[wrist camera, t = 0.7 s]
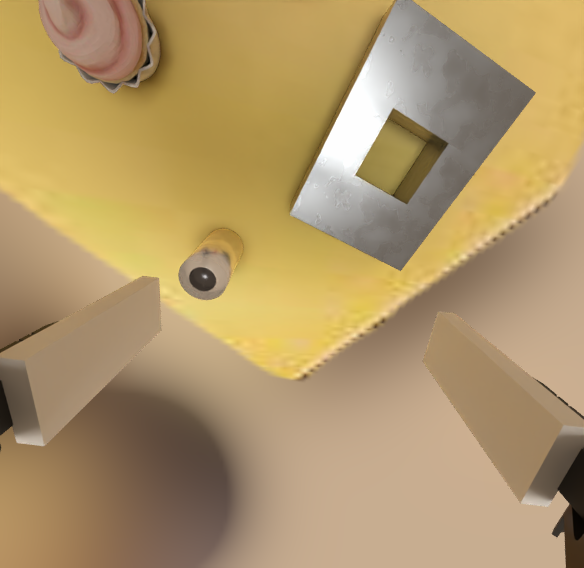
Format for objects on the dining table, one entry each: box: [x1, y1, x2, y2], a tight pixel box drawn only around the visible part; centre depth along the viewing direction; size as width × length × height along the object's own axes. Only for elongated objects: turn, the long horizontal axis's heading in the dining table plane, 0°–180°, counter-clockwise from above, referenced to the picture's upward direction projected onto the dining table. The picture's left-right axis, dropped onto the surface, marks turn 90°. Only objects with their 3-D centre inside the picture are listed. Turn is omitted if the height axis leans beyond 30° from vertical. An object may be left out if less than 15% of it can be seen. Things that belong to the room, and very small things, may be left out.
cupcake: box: [39, 0, 160, 93], centre depth 24 cm, size 9×9×10 cm
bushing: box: [179, 228, 243, 300], centre depth 34 cm, size 5×5×10 cm
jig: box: [290, 0, 536, 271], centre depth 30 cm, size 20×15×5 cm
